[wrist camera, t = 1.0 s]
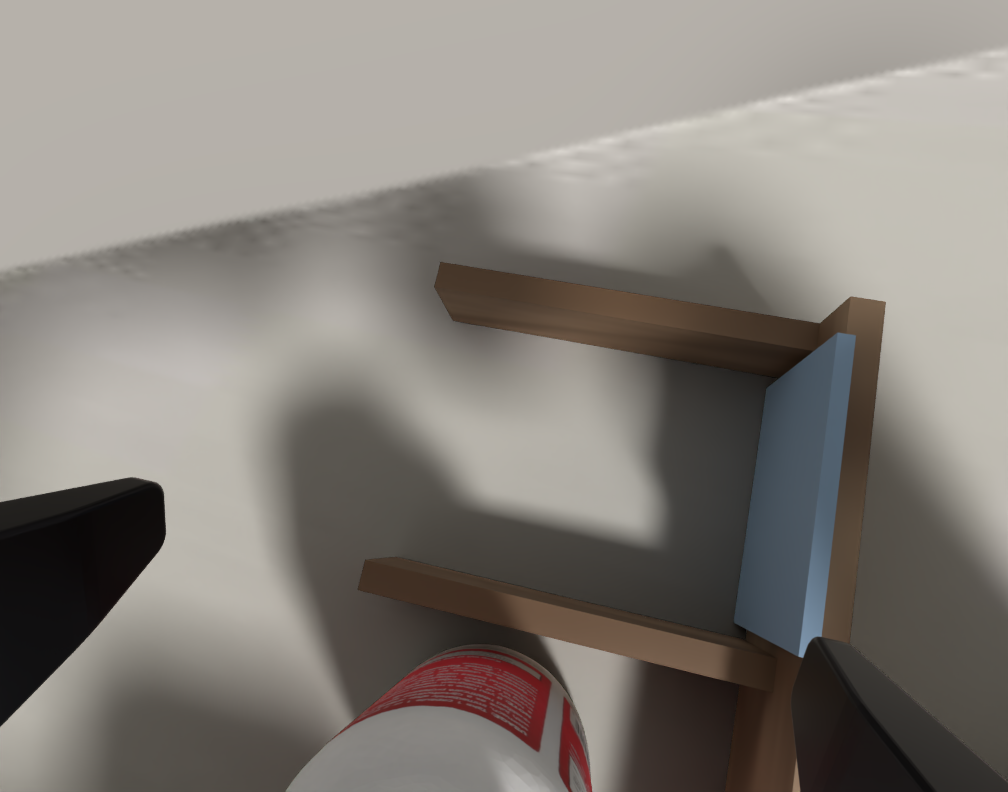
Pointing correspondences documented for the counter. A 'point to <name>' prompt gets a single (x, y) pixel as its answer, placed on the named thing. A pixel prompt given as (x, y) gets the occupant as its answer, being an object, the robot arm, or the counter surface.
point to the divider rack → (773, 507)
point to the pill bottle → (460, 732)
